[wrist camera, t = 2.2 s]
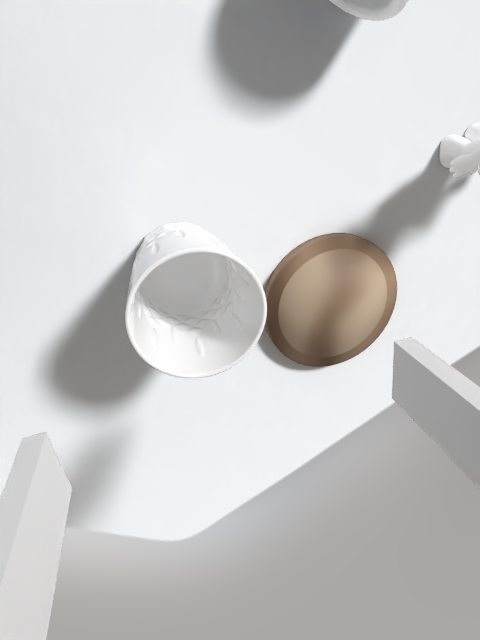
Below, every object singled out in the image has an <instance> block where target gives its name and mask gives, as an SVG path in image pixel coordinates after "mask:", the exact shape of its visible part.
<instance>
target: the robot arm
mask: <svg viewBox="0 0 480 640" xmlns="http://www.w3.org/2000/svg"><path fill="white" fill-rule="evenodd" d="M392 399H393V400H394V401H395V402H396V403H397V404H398V405H399V406H400V407H401V408H402V409H403V410H404V411H405V412H406V413H407V414H408V415H409V416H410V417H411V418H412V419H413V420H414V421H415V422H416V423H417V424H418V425H419V426H420V427H421V428H422V429H423V431H424V432H425V433H427V435H428V436H429V437H430V438H431V439H432V440H433V441H434V442H435V443H436V444H437V445H438V446H439V447H440V448H441V449H442V450H443V451H444V452H445V453H446V454H447V455H448V456H449V457H450V458H451V459H452V460H453V461H454V462H455V464H457V466H458V467H459V468H461V470H462V471H463V472H464V473H465V474H466V475H467V476H468V477H469V478H470V479H471V480H472V481H473V482H474V483H475V484H476V485H477V486H478V487H479V488H480V387H479V386H477V385H476V384H475V383H473V382H472V381H470V380H469V379H468V378H466V377H465V376H464V375H462V374H461V373H460V372H458V371H457V370H456V369H454V368H453V367H452V366H450V365H449V364H447V363H446V362H445V361H443V360H442V359H441V358H439V357H438V356H437V355H435V354H434V353H433V352H431V351H430V350H429V349H427V348H426V347H424V346H423V345H422V344H420V343H419V342H418V341H416V340H415V339H414V338H412V337H411V338H407V339H403V340H399V341H395V342H394V360H393V387H392ZM71 493H72V486H71V484H70V482H69V480H68V478H67V476H66V473H65V471H64V469H63V467H62V465H61V463H60V461H59V458H58V456H57V454H56V452H55V450H54V448H53V446H52V444H51V441H50V439H49V437H48V435H47V433H46V432H44V433H40V434H36V435H32V436H28V437H24V438H23V439H22V441H21V444H20V447H19V449H18V452H17V455H16V458H15V460H14V463H13V466H12V469H11V471H10V474H9V477H8V480H7V482H6V485H5V488H4V491H3V493H2V496H1V499H0V640H46V636H47V630H48V625H49V619H50V613H51V608H52V602H53V596H54V591H55V585H56V578H57V573H58V568H59V562H60V556H61V550H62V545H63V538H64V533H65V527H66V522H67V516H68V510H69V504H70V499H71Z"/></svg>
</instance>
